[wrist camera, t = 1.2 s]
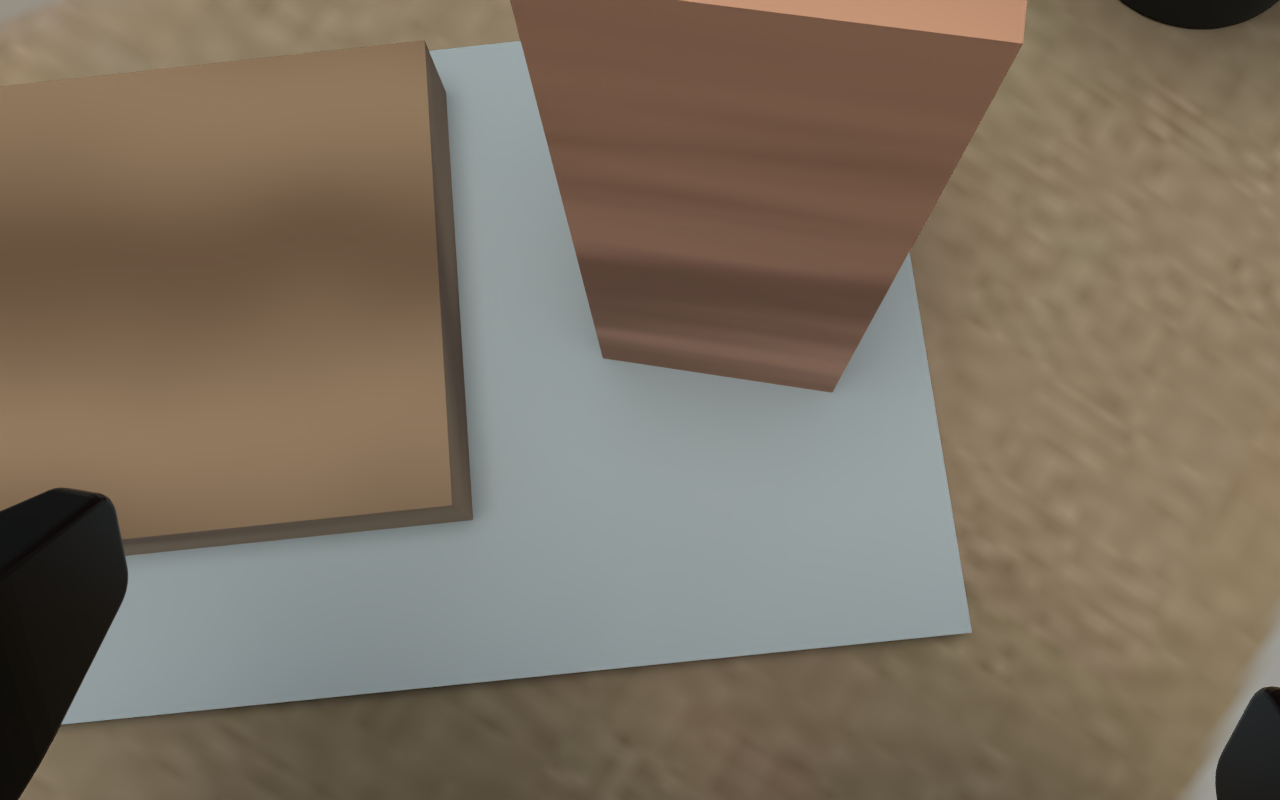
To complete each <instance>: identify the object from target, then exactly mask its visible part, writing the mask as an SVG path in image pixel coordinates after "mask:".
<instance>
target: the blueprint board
mask: <svg viewBox="0 0 1280 800" xmlns="http://www.w3.org/2000/svg"><path fill="white" fill-rule="evenodd" d="M429 52H430V55H431V57H432V60H433V62H434V65H435V67H436V69H437V72H438V74H439V77H440V79H441V81H442V84H443V86H444V89H445V91H446V101H447V117H448V132H449V148H450V164H451V180H452V195H453V211H454V227H455V243H456V258H457V274H458V290H459V306H460V321H461V337H462V353H463V368H464V384H465V400H466V416H467V431H468V447H469V463H470V479H471V494H472V510H473V520H468V521H459V522H449V523H439V524H429V525H420V526H410V527H400V528H391V529H381V530H371V531H361V532H352V533H342V534H332V535H323V536H313V537H303V538H293V539H284V540H274V541H264V542H255V543H245V544H235V545H225V546H216V547H206V548H196V549H187V550H177V551H167V552H157V553H148V554H138V555H128V556H125V557H126V562H127V567H128V585H127V590H126V594H125V597H124V600H123V602H122V604H121V606H120V608H119V610H118V612H117V614H116V616H115V618H114V620H113V622H112V624H111V626H110V628H109V630H108V632H107V634H106V636H105V638H104V640H103V642H102V644H101V646H100V648H99V650H98V652H97V654H96V656H95V658H94V660H93V662H92V664H91V666H90V668H89V670H88V672H87V674H86V676H85V678H84V680H83V682H82V684H81V686H80V688H79V690H78V692H77V694H76V696H75V698H74V700H73V702H72V704H71V706H70V708H69V710H68V712H67V714H66V716H65V718H64V720H63V722H62V723H61V725H64V724H73V723H83V722H93V721H103V720H113V719H123V718H133V717H143V716H153V715H163V714H172V713H182V712H192V711H202V710H212V709H222V708H232V707H242V706H252V705H262V704H271V703H281V702H291V701H301V700H311V699H321V698H331V697H341V696H351V695H361V694H370V693H380V692H390V691H400V690H410V689H420V688H430V687H440V686H450V685H460V684H469V683H479V682H489V681H499V680H509V679H519V678H529V677H539V676H549V675H559V674H568V673H578V672H588V671H598V670H608V669H618V668H628V667H638V666H648V665H658V664H667V663H677V662H687V661H697V660H707V659H717V658H727V657H737V656H747V655H756V654H766V653H776V652H786V651H796V650H806V649H816V648H826V647H836V646H846V645H855V644H865V643H875V642H885V641H895V640H905V639H915V638H925V637H935V636H945V635H954V634H964V633H972V630H971V624H970V618H969V611H968V605H967V599H966V593H965V587H964V581H963V575H962V569H961V563H960V557H959V550H958V544H957V538H956V532H955V526H954V520H953V514H952V508H951V502H950V496H949V489H948V483H947V477H946V471H945V465H944V459H943V453H942V447H941V441H940V435H939V428H938V422H937V416H936V410H935V404H934V398H933V392H932V386H931V380H930V374H929V367H928V361H927V355H926V349H925V343H924V337H923V331H922V325H921V319H920V313H919V306H918V300H917V294H916V288H915V282H914V276H913V270H912V264H911V258H910V252H909V253H908V255H907V257H906V259H905V260H904V262H903V264H902V266H901V268H900V270H899V271H898V273H897V275H896V277H895V279H894V281H893V282H892V284H891V286H890V288H889V290H888V292H887V293H886V295H885V297H884V299H883V301H882V303H881V304H880V306H879V308H878V310H877V312H876V314H875V315H874V317H873V319H872V321H871V323H870V324H869V326H868V328H867V330H866V332H865V334H864V335H863V337H862V339H861V341H860V343H859V345H858V346H857V348H856V350H855V352H854V354H853V356H852V357H851V359H850V361H849V363H848V365H847V367H846V368H845V370H844V372H843V374H842V376H841V378H840V379H839V381H838V383H837V385H836V387H835V389H834V390H833V392H832V393H831V392H824V391H817V390H811V389H804V388H797V387H791V386H784V385H777V384H771V383H764V382H757V381H751V380H744V379H737V378H731V377H724V376H717V375H711V374H704V373H697V372H691V371H684V370H677V369H671V368H664V367H657V366H651V365H644V364H638V363H631V362H624V361H618V360H611V359H604V358H603V357H602V353H601V349H600V345H599V342H598V338H597V334H596V330H595V326H594V322H593V318H592V315H591V311H590V307H589V303H588V299H587V295H586V291H585V287H584V284H583V280H582V276H581V272H580V268H579V264H578V260H577V257H576V253H575V249H574V245H573V241H572V237H571V233H570V230H569V226H568V222H567V218H566V214H565V210H564V206H563V203H562V199H561V195H560V191H559V187H558V183H557V179H556V176H555V172H554V168H553V164H552V160H551V156H550V152H549V148H548V145H547V141H546V137H545V133H544V129H543V125H542V121H541V118H540V114H539V110H538V106H537V102H536V98H535V94H534V91H533V87H532V83H531V79H530V75H529V71H528V67H527V64H526V60H525V56H524V52H523V48H522V44H521V41H516V42H507V43H498V44H489V45H480V46H470V47H461V48H452V49H443V50H433V51H429Z"/></svg>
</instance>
